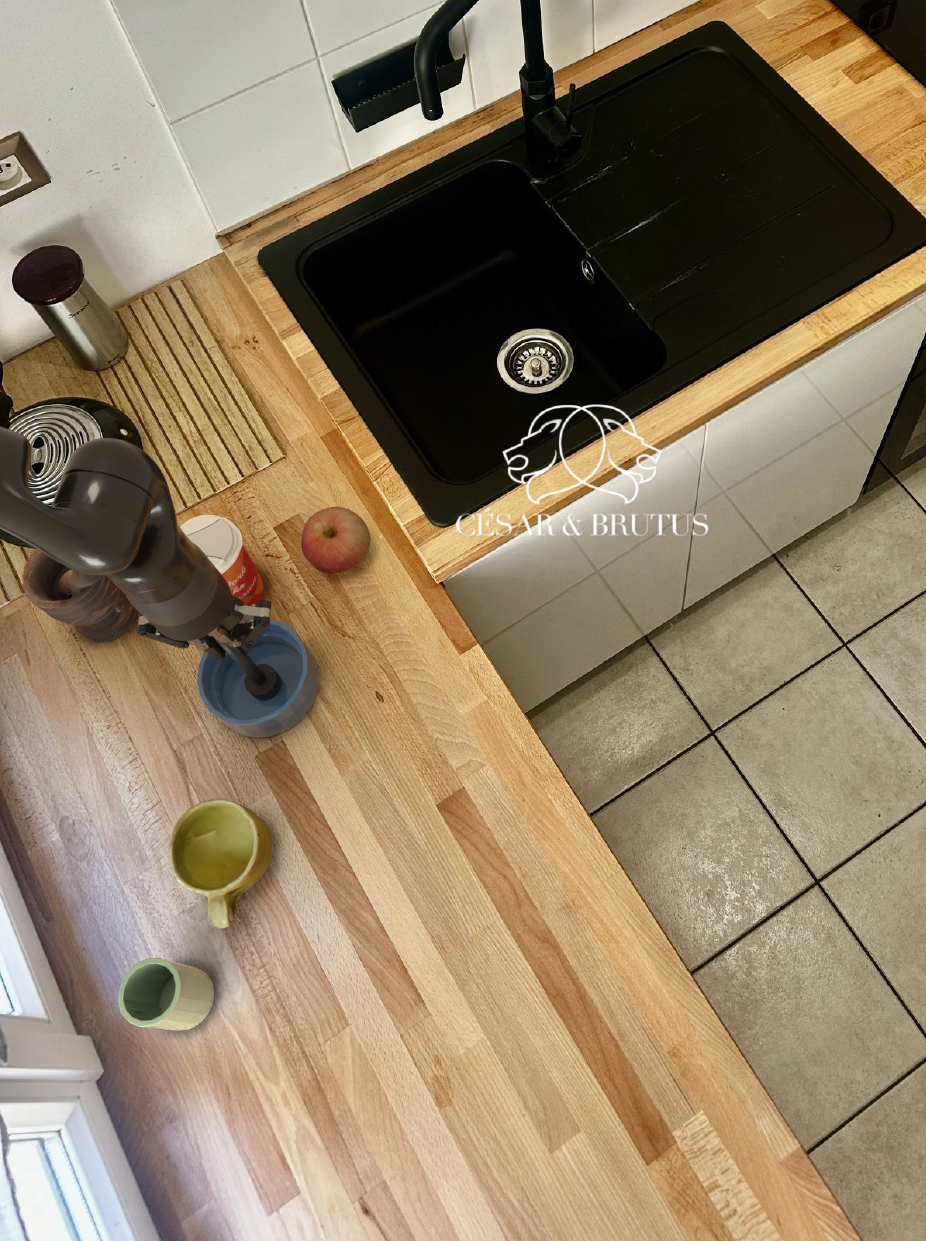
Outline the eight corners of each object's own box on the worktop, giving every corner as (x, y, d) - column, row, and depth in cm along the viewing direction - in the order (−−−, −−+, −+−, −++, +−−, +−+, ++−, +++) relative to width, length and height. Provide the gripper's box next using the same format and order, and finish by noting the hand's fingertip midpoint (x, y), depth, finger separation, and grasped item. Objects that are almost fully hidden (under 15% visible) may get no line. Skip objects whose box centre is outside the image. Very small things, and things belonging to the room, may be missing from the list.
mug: (179, 796, 123) (174, 796, 114) (277, 801, 126) (280, 801, 117) (161, 918, 120) (155, 928, 111) (263, 920, 123) (264, 931, 113)
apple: (373, 583, 137) (360, 556, 130) (306, 585, 137) (289, 558, 130) (378, 522, 140) (365, 492, 133) (313, 524, 140) (296, 494, 133)
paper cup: (209, 627, 135) (167, 581, 122) (206, 568, 138) (165, 518, 126) (276, 614, 135) (241, 566, 123) (271, 555, 139) (236, 504, 126)
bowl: (210, 742, 128) (192, 727, 123) (219, 640, 134) (203, 622, 129) (317, 735, 128) (304, 720, 123) (322, 633, 134) (309, 614, 129)
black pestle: (248, 701, 129) (200, 652, 115) (250, 670, 131) (203, 618, 116) (280, 699, 129) (236, 650, 115) (282, 668, 131) (239, 616, 116)
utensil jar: (153, 1032, 115) (114, 1028, 106) (160, 969, 117) (122, 960, 108) (211, 1028, 114) (177, 1024, 106) (217, 965, 117) (183, 956, 108)
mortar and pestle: (177, 581, 138) (111, 508, 120) (162, 650, 133) (91, 585, 116) (82, 579, 138) (3, 506, 120) (64, 648, 134) (-21, 583, 116)
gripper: (254, 543, 106) (300, 611, 121) (105, 553, 106) (171, 619, 121) (247, 619, 103) (296, 679, 118) (94, 630, 103) (163, 688, 118)
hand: (232, 649), depth 120 cm, fingers closed
